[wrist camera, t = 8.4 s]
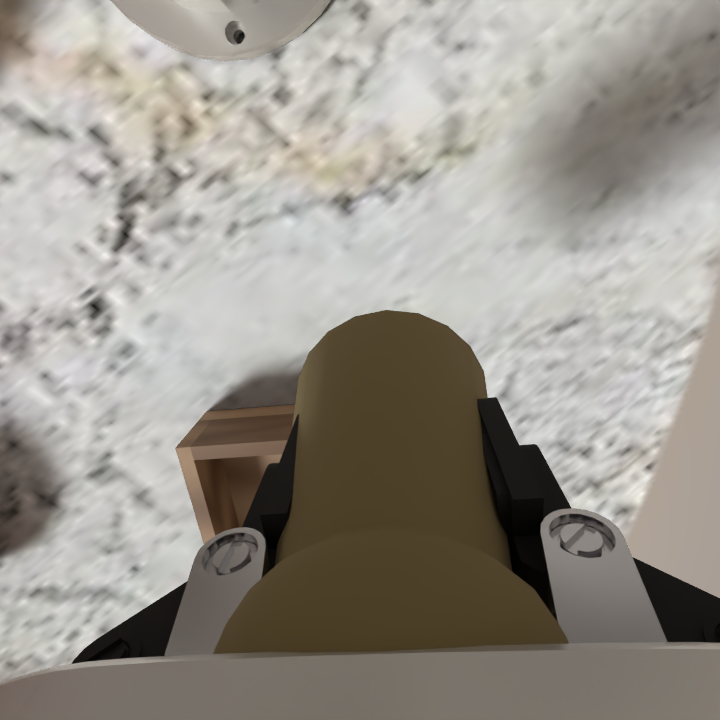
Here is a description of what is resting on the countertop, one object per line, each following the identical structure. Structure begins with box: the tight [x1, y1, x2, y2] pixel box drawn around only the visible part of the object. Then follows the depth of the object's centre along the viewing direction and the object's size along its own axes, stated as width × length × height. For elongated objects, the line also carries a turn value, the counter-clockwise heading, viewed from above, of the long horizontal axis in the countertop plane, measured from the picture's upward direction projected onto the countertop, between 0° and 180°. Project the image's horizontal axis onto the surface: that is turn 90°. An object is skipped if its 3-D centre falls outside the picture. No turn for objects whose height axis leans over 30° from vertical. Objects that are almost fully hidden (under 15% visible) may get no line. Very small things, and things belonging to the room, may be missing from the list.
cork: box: [213, 310, 569, 654], centre depth 10 cm, size 6×6×11 cm
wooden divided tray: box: [176, 404, 295, 544], centre depth 29 cm, size 20×11×4 cm, turn 7°
